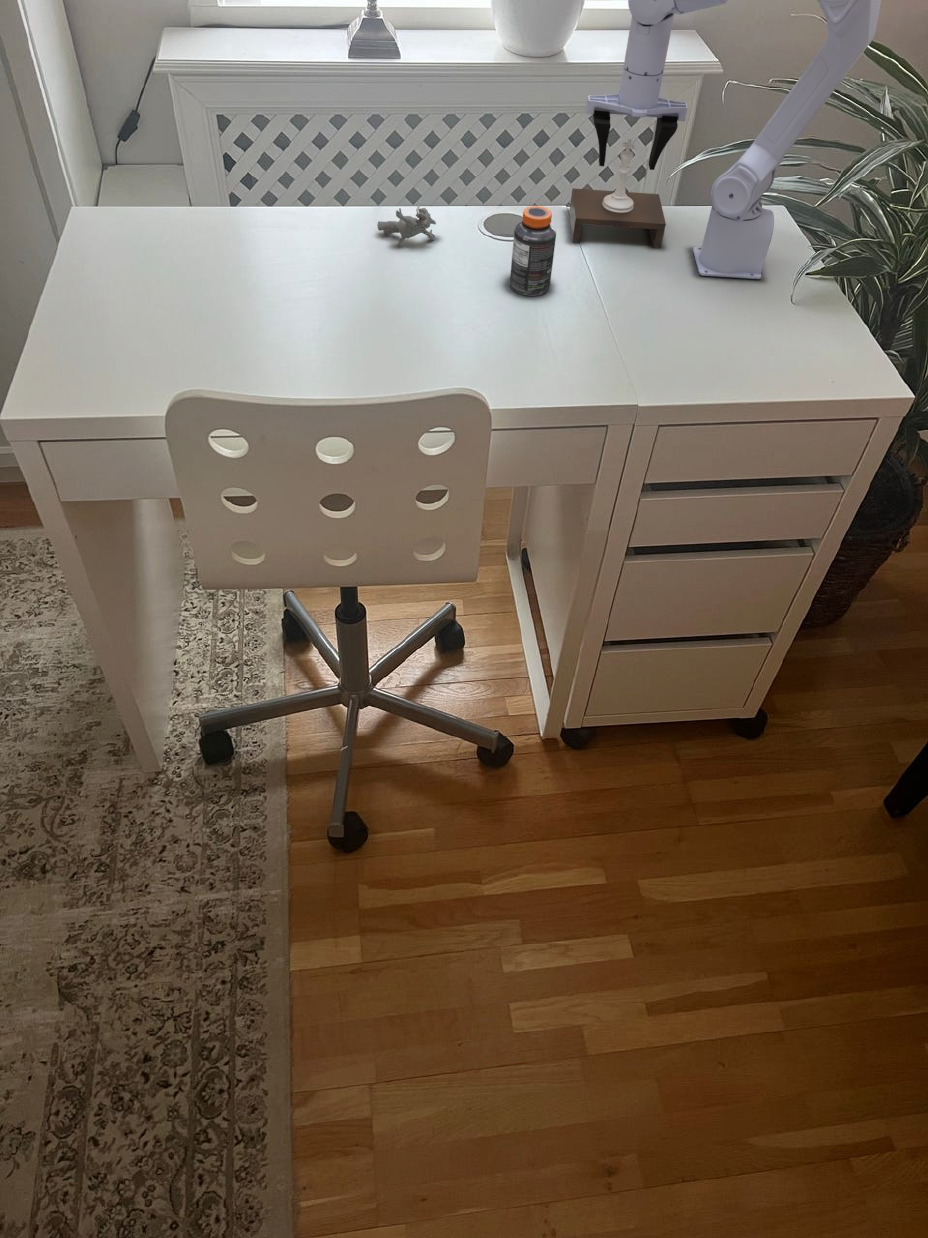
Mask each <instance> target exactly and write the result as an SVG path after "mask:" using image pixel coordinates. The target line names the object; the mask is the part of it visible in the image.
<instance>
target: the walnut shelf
mask: <svg viewBox="0 0 928 1238" xmlns="http://www.w3.org/2000/svg"><path fill="white" fill-rule="evenodd" d="M614 192H615V190H605V189H604V190H603V189H601V190H600V189H588V188H572V189H571V196H570V204H569V209H568V213H569V215H568V216H569V225H570V234H571V242H572V243H575V244H580V243H581V236H582V231H583V225H585V226H600V227H614V228H630V229H647V230H649V235H650V238H651V242H652V248H654V249H661V248H662V244H663V239H664V235H665V230H666V225H667V221H666V218H665V213H664V210H663V205H662V202H661V197H660V194H659V193H648V192H634V191H633V192H632V191H631V192H630V191H625V194H626V195H627V196H628V197H630V198H631V199H632V200H633V202H634V205H633V206H634V207H633V209H632V210H631V211H629V212H625V213H617V212H612V211H609V210H607V209H606V208H604V207H603V205H602V202H603V199H604V197H606V196H607V195H610V194H613V193H614Z"/></svg>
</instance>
